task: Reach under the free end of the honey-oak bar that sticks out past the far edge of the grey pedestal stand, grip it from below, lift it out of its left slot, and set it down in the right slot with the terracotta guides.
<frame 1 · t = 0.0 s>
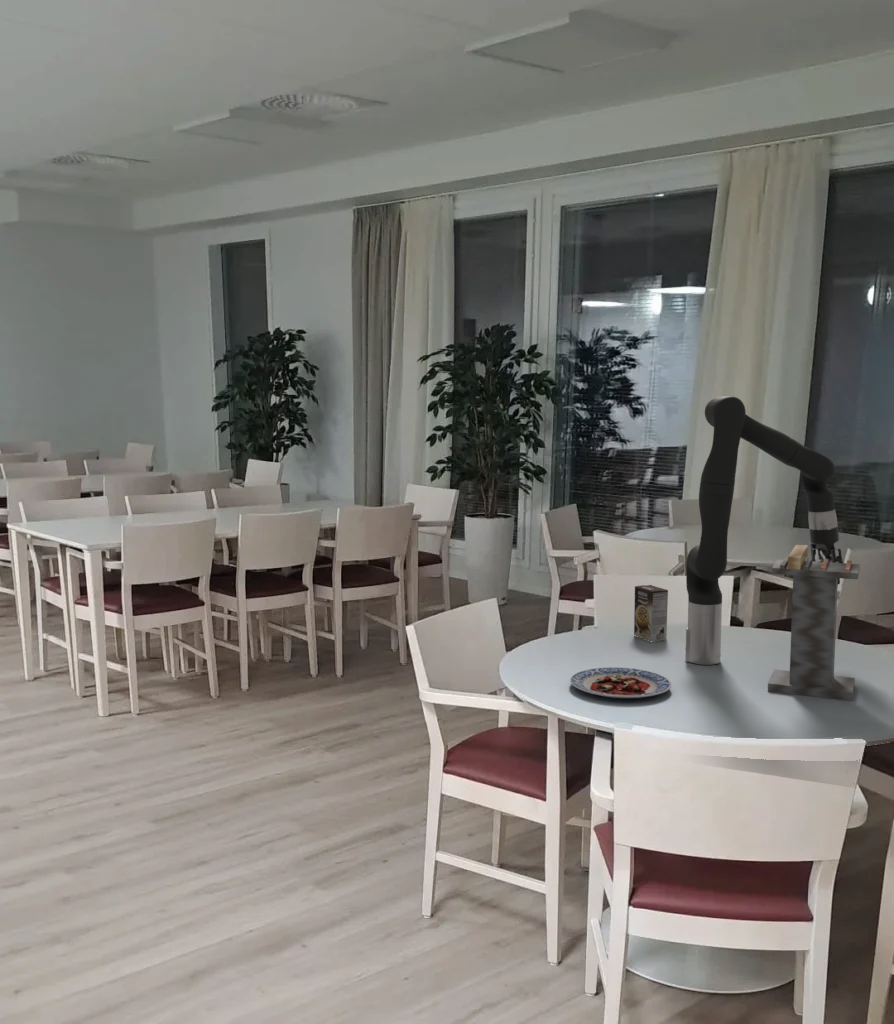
hand: (828, 581, 272), 22 cm above the table, fingers open, 8 cm apart
ceramic plate: (620, 690, 247), on the table
printed cardboard box: (650, 638, 298), on the table
oak bar: (797, 562, 248), point 32 cm above the table, touching grey pedestal stand
grey pedestal stand: (811, 688, 246), on the table
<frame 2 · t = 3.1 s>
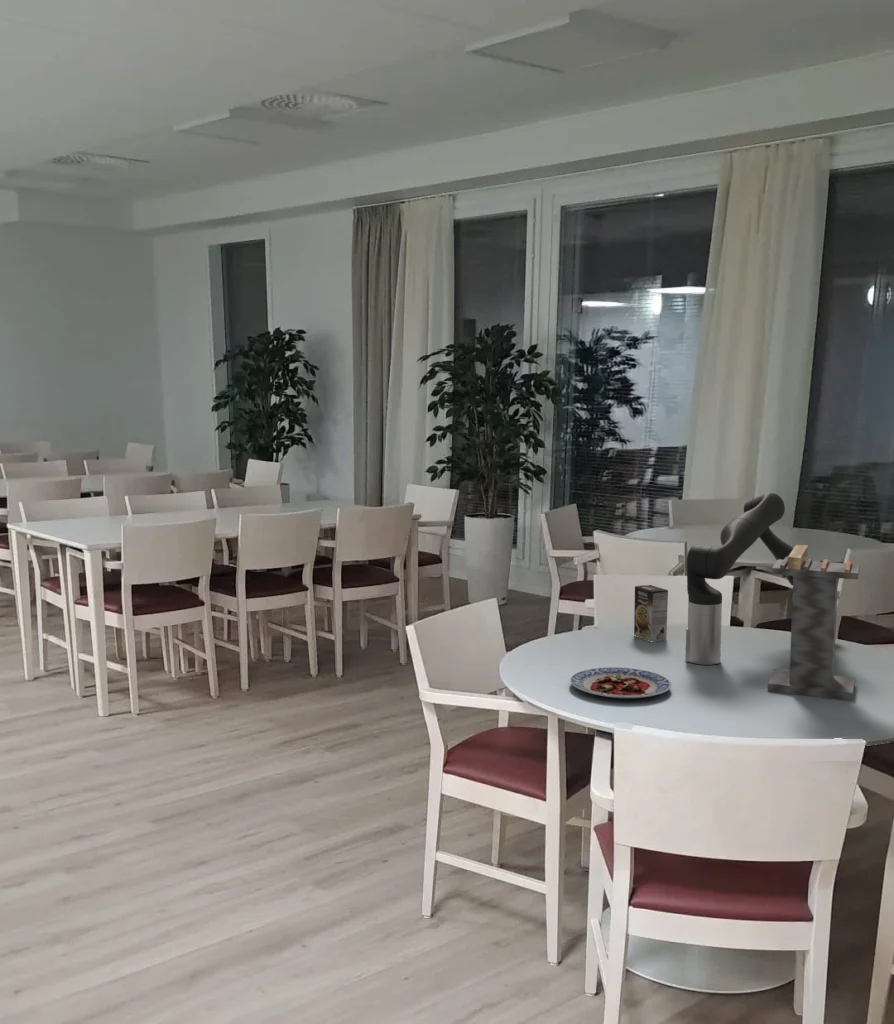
hand: (805, 562, 270), 28 cm above the table, fingers open, 8 cm apart
nothing on the table moved.
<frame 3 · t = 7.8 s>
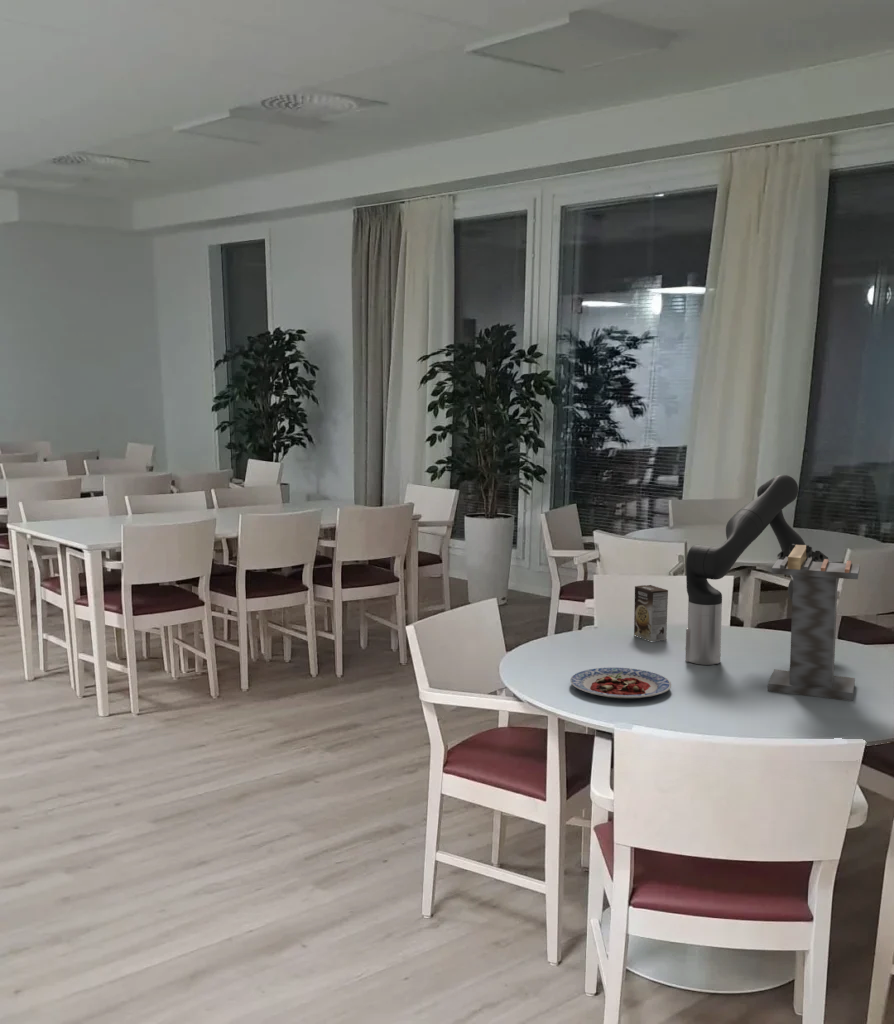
hand: (800, 547, 253), 35 cm above the table, fingers closed on oak bar, 3 cm apart
oak bar: (797, 562, 248), point 32 cm above the table, touching gripper, grey pedestal stand
everything else where it was.
when the fingers open (36 cm above the table, at t = 13.3 s): oak bar drops 1 cm, resting on grey pedestal stand.
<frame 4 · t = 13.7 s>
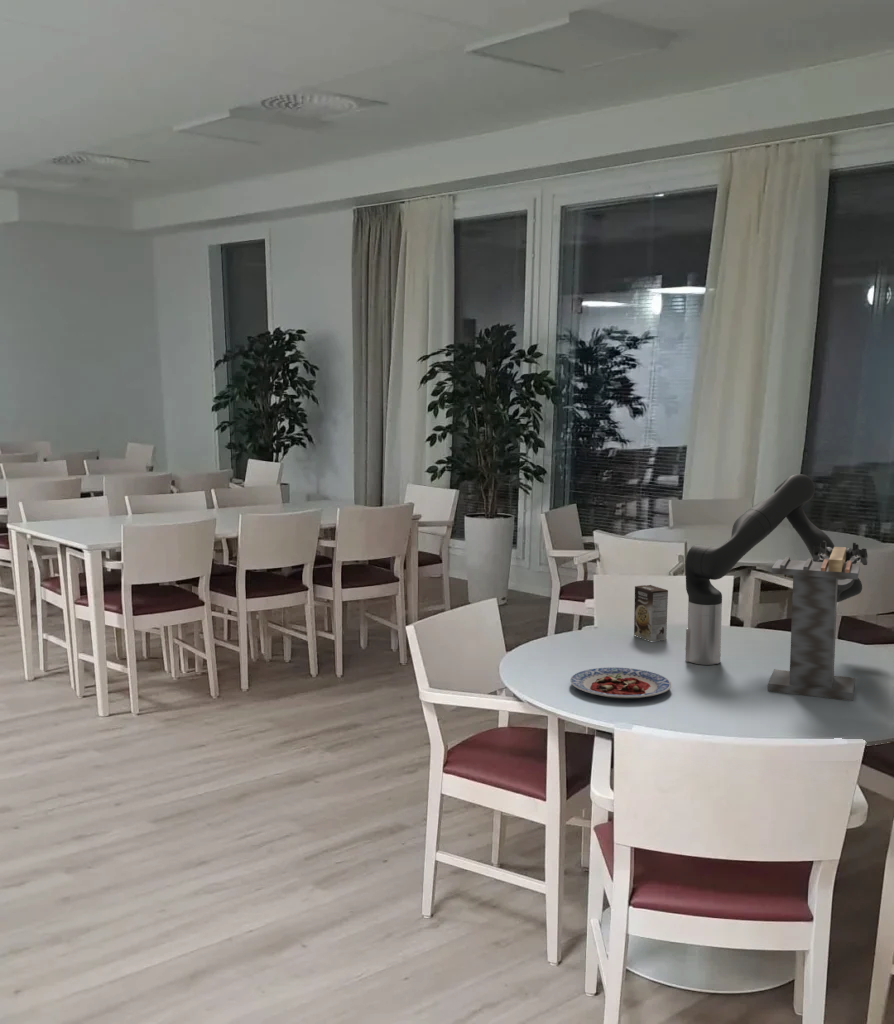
hand: (839, 545, 249), 36 cm above the table, fingers open, 6 cm apart
oak bar: (837, 564, 244), point 32 cm above the table, touching grey pedestal stand
everything else where it was.
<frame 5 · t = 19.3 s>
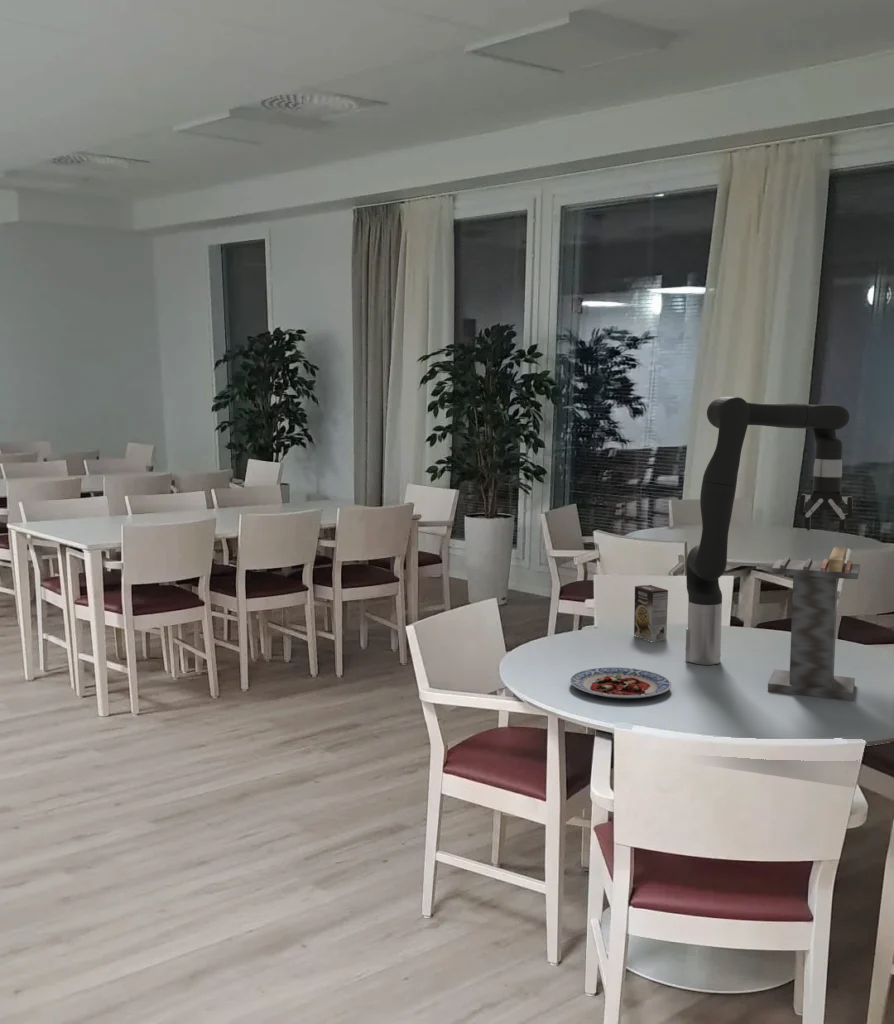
hand: (824, 531, 274), 36 cm above the table, fingers open, 8 cm apart
nothing on the table moved.
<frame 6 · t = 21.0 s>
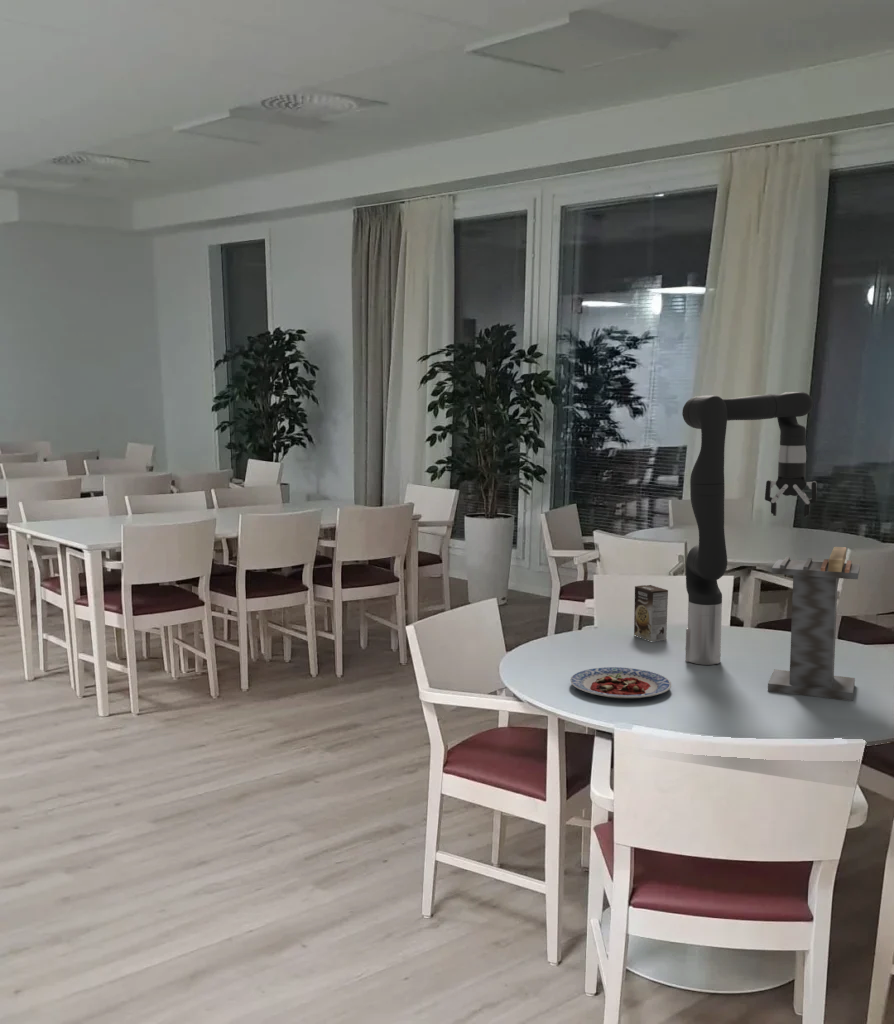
hand: (790, 516, 279), 40 cm above the table, fingers open, 8 cm apart
nothing on the table moved.
at the end: oak bar 0.1 cm from the target spot on the grey pedestal stand, point 32.0 cm above the grey pedestal stand's base; the gripper is holding nothing; oak bar tilted 0° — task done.
